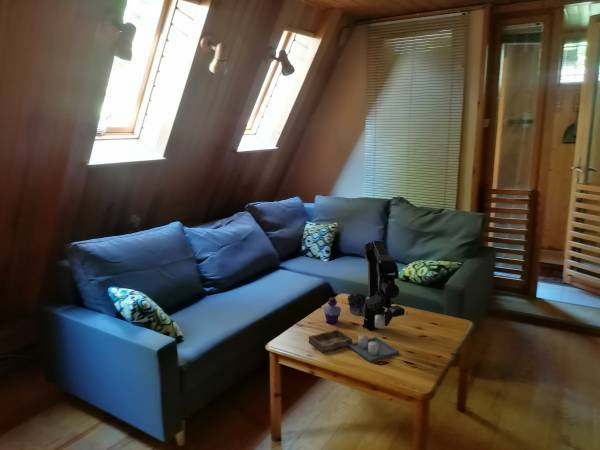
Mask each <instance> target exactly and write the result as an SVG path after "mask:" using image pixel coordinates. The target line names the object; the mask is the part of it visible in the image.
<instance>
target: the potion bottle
mask: <svg viewBox="0 0 600 450" xmlns="http://www.w3.org/2000/svg"><path fill="white" fill-rule="evenodd" d="M327 304H328V305H325V306H323V312H324V315H325V322H326V324H328V325H336V324H337V323H338V320H339V316H341V311H342V309H341V307H340V306H338V305H337V304H338V300H337V299H336V298H335V297H329V298H328V300H327Z"/></svg>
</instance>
